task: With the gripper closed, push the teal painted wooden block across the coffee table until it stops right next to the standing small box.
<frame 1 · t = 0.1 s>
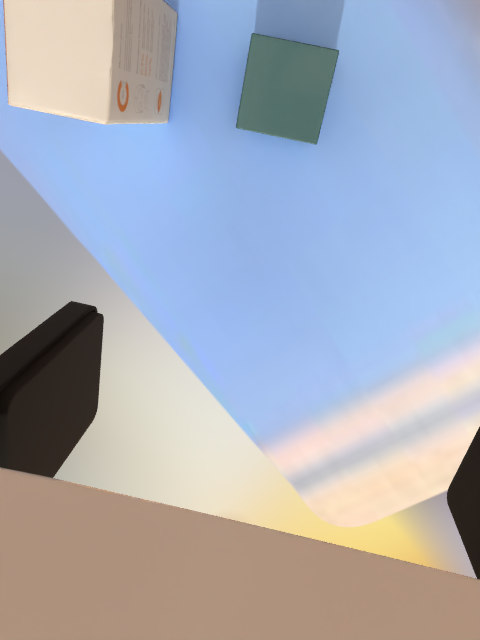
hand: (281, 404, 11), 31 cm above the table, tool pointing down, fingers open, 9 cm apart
teal block: (287, 95, 36), on the table
small box: (136, 64, 37), on the table
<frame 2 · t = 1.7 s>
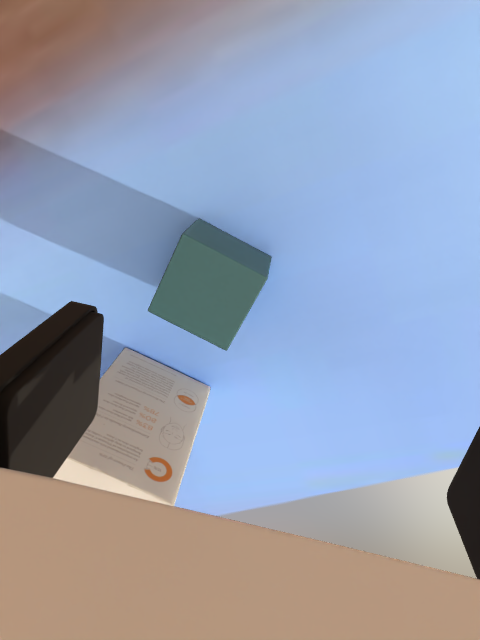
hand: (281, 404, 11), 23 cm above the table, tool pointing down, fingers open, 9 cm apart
teal block: (218, 272, 34), on the table
small box: (156, 392, 39), on the table
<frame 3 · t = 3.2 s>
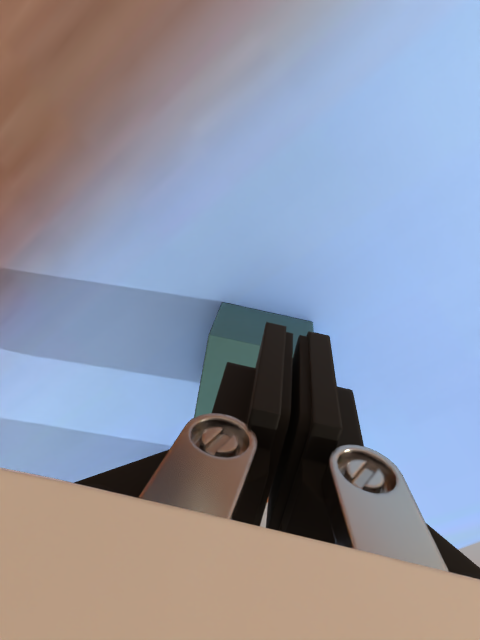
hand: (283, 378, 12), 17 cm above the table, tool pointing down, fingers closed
teal block: (258, 351, 30), on the table
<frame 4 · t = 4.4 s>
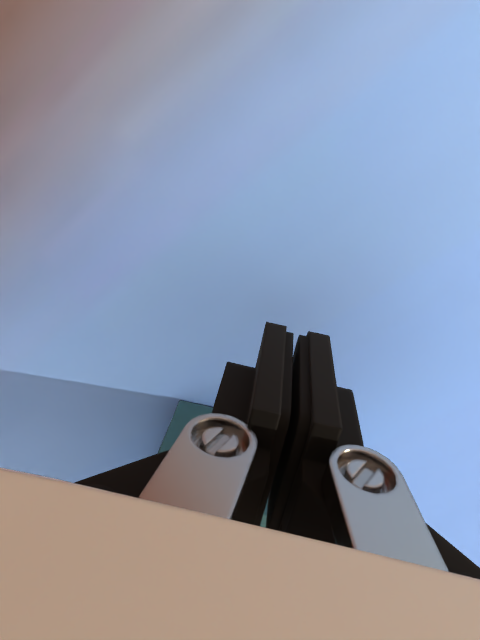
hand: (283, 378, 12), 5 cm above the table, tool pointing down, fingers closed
teal block: (236, 469, 20), on the table
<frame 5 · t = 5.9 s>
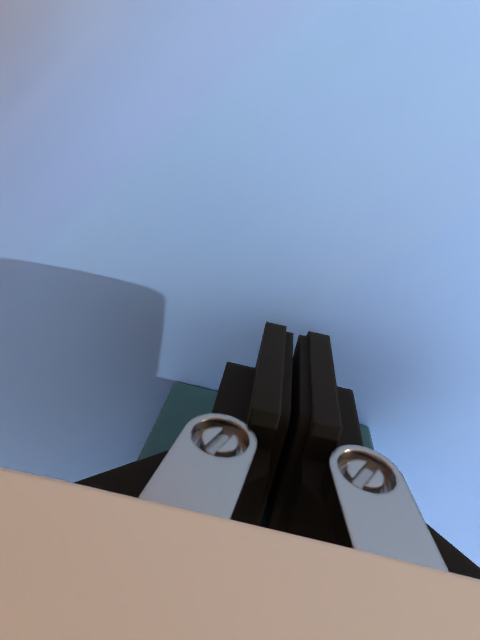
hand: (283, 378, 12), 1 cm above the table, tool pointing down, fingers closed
teal block: (251, 477, 15), on the table, touching gripper
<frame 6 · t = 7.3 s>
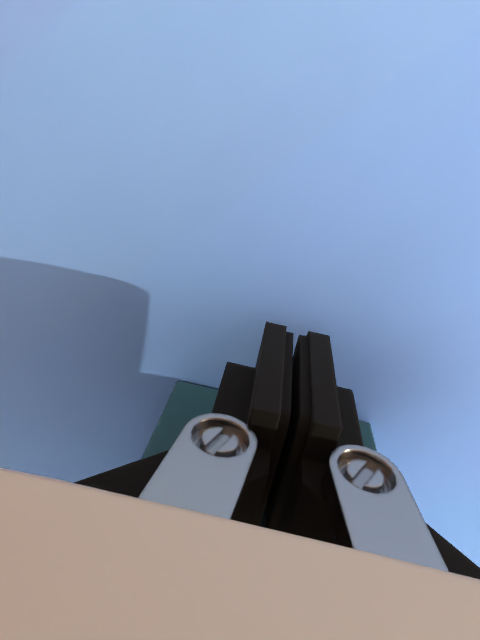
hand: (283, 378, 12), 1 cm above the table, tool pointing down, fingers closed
teal block: (254, 474, 15), on the table, touching gripper
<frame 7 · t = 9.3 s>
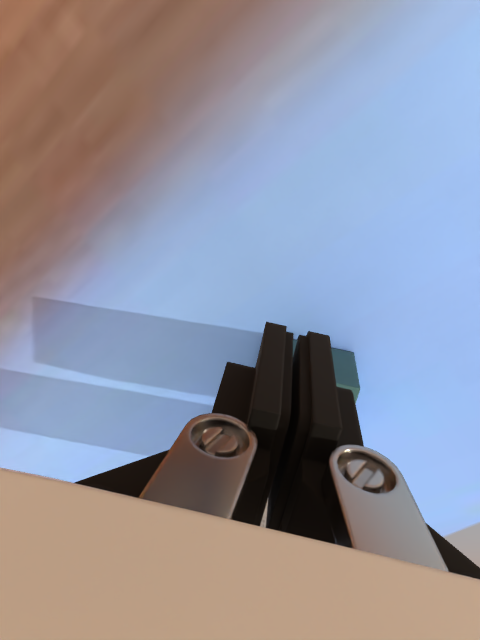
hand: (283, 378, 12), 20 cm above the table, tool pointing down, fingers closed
teal block: (304, 377, 34), on the table
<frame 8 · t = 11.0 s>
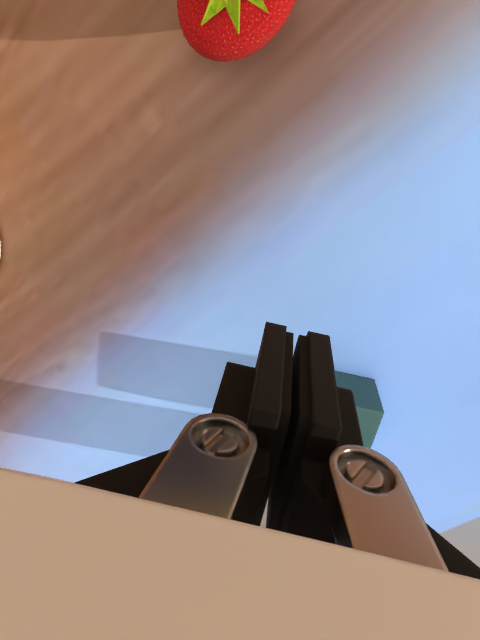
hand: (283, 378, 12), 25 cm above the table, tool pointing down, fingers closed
strawberry: (248, 15, 30), on the table
teal block: (332, 400, 41), on the table
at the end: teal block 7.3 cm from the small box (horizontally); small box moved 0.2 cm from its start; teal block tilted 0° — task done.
